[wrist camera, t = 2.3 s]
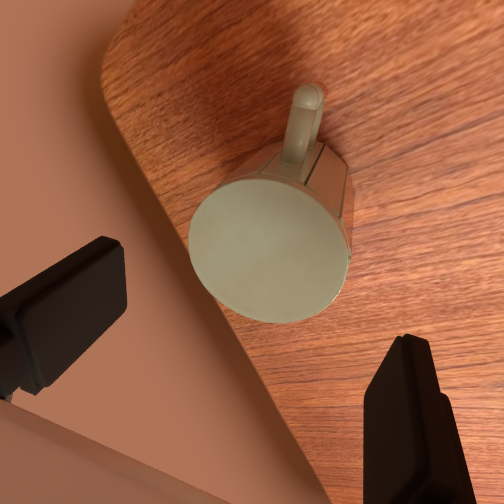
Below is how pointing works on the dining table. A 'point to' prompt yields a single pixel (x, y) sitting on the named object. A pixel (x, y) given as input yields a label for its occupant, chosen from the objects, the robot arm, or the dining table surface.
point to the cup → (279, 224)
